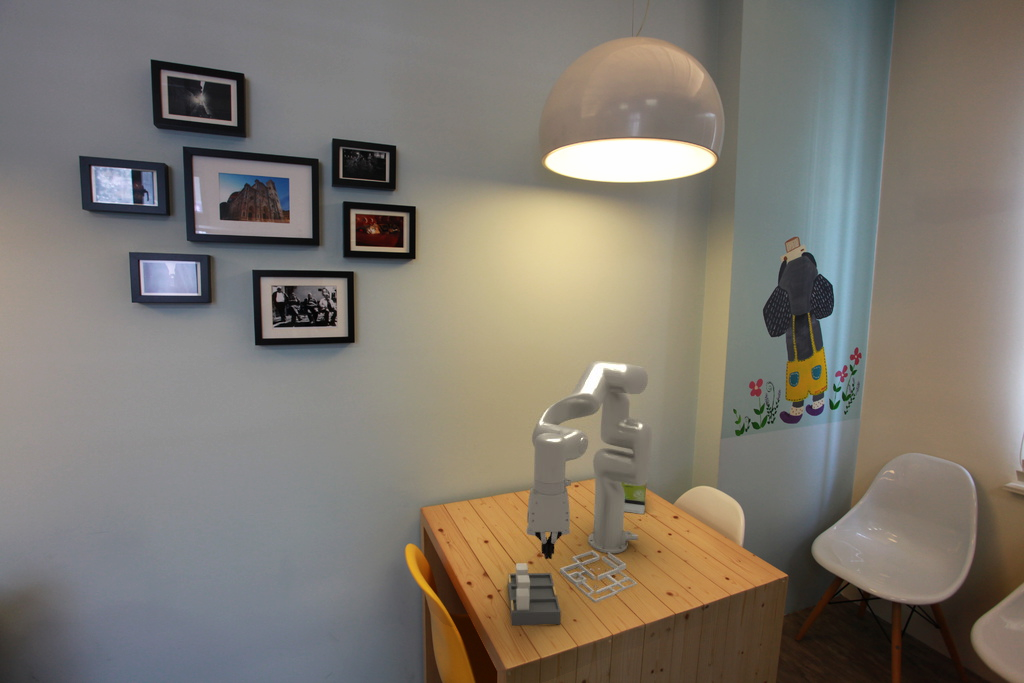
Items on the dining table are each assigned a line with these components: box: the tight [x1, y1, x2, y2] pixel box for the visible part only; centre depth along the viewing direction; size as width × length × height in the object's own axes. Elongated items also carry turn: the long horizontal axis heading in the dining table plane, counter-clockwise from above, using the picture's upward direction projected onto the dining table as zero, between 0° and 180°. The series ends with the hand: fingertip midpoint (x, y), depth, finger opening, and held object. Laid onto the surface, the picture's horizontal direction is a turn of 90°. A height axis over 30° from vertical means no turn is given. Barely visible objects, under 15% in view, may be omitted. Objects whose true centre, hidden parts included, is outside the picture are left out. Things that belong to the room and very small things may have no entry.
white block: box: [517, 575, 530, 596], centre depth 119 cm, size 3×3×4 cm
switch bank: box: [507, 572, 562, 626], centre depth 120 cm, size 12×16×4 cm
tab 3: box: [516, 588, 530, 610], centre depth 114 cm, size 3×3×4 cm
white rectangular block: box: [515, 562, 529, 584], centre depth 125 cm, size 3×3×4 cm
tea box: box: [621, 482, 647, 515], centre depth 178 cm, size 15×10×15 cm, turn 77°
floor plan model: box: [559, 549, 637, 604], centre depth 136 cm, size 19×25×2 cm
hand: (547, 555), depth 113 cm, fingers closed
